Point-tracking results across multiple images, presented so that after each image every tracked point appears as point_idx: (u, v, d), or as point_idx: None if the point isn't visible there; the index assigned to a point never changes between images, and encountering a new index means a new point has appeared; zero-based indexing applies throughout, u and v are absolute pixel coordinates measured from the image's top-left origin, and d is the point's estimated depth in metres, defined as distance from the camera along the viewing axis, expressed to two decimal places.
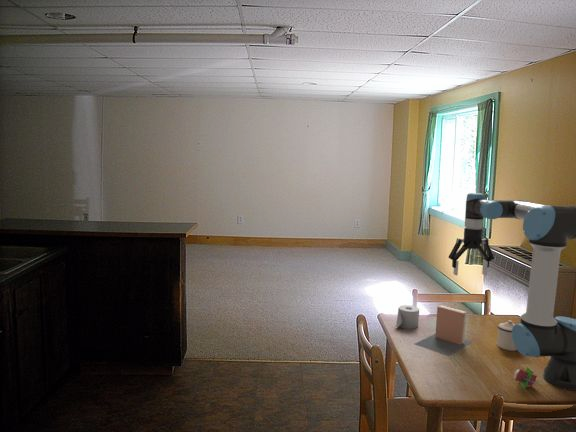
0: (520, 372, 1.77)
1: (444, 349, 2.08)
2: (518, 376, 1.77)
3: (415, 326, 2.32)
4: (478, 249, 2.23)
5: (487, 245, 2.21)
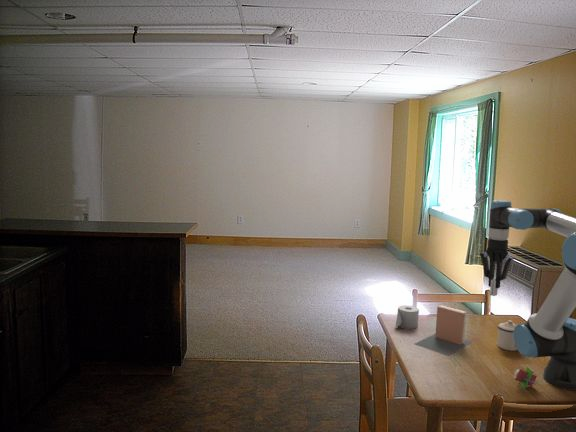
0: (520, 372, 1.77)
1: (444, 349, 2.08)
2: (518, 376, 1.77)
3: (415, 326, 2.32)
4: None
5: (506, 263, 1.98)
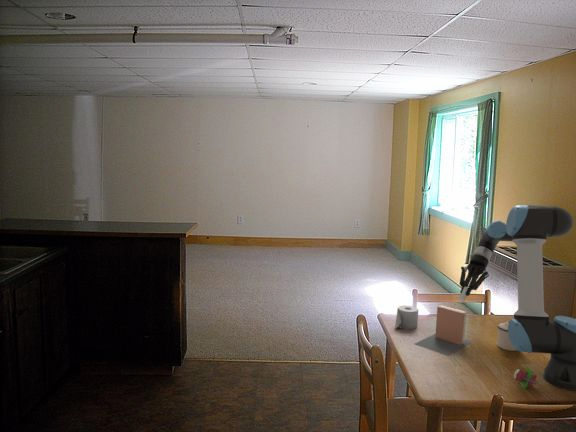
0: (520, 372, 1.77)
1: (444, 349, 2.08)
2: (518, 376, 1.77)
3: (414, 326, 2.31)
4: None
5: (482, 275, 2.24)
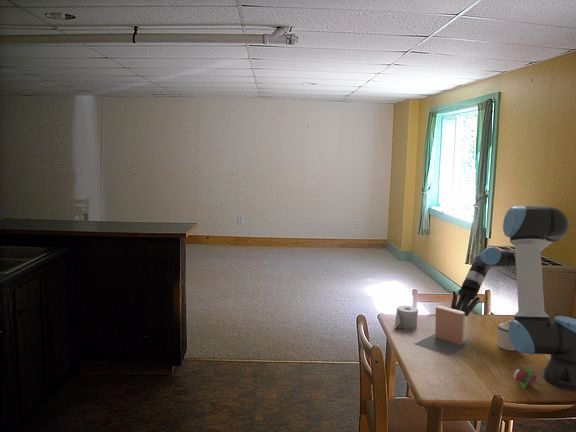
0: (520, 372, 1.77)
1: (444, 349, 2.08)
2: (518, 376, 1.77)
3: (414, 326, 2.31)
4: None
5: (473, 301, 2.21)
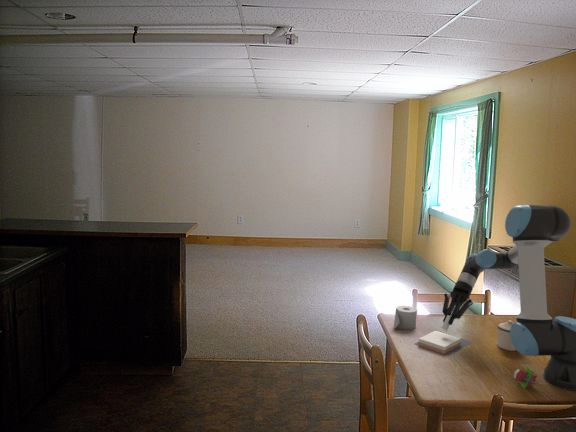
0: (520, 372, 1.77)
1: None
2: (518, 376, 1.77)
3: (413, 327, 2.31)
4: None
5: (465, 303, 2.15)
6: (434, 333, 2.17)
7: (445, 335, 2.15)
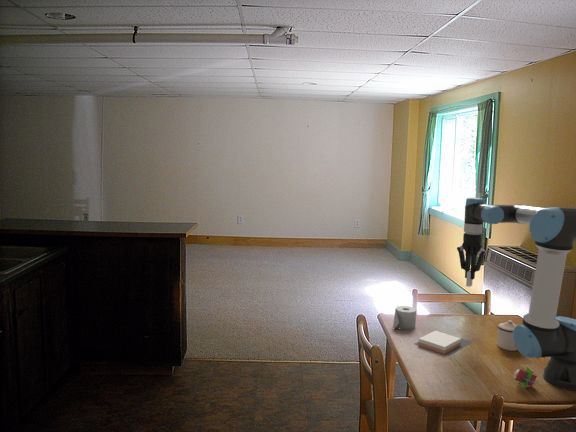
0: (520, 372, 1.77)
1: None
2: (518, 376, 1.77)
3: (412, 327, 2.31)
4: None
5: (480, 256, 2.14)
6: (434, 333, 2.17)
7: (445, 335, 2.15)
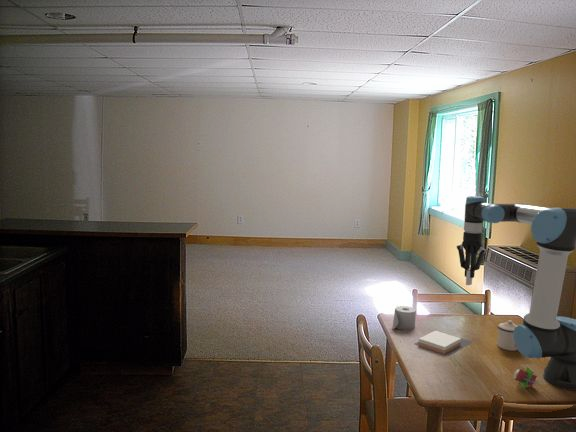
0: (520, 372, 1.77)
1: None
2: (518, 376, 1.77)
3: (412, 327, 2.30)
4: None
5: (480, 255, 2.13)
6: (434, 333, 2.17)
7: (445, 335, 2.15)
